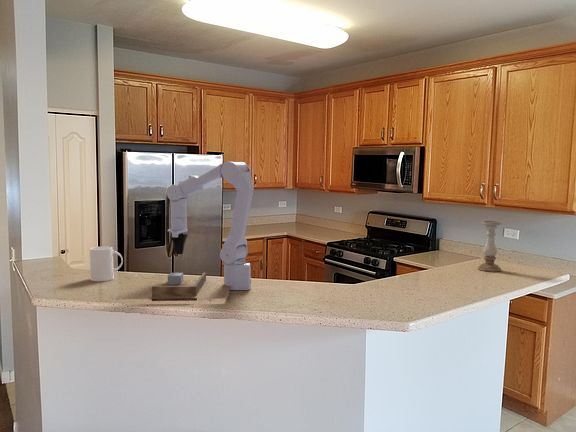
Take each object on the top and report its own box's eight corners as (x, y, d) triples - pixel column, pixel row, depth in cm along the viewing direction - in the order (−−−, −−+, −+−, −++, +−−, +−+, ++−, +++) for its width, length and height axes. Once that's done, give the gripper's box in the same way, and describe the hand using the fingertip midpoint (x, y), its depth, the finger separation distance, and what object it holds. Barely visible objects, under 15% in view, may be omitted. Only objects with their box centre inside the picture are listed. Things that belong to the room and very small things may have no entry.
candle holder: (504, 272, 184) (507, 222, 183) (483, 272, 185) (485, 222, 183) (495, 267, 193) (497, 220, 191) (474, 267, 193) (476, 220, 191)
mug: (125, 275, 178) (124, 245, 177) (120, 280, 169) (119, 249, 168) (93, 276, 176) (92, 246, 175) (87, 282, 167) (86, 250, 166)
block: (183, 281, 163) (183, 272, 162) (180, 284, 158) (180, 275, 158) (170, 281, 162) (170, 272, 162) (167, 284, 158) (167, 275, 158)
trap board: (206, 284, 164) (205, 272, 163) (196, 300, 143) (195, 286, 143) (167, 284, 163) (167, 272, 163) (152, 300, 143) (151, 286, 142)
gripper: (172, 215, 173) (173, 250, 174) (162, 219, 158) (163, 257, 160) (190, 215, 173) (191, 250, 174) (183, 219, 158) (183, 257, 160)
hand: (179, 254), depth 167 cm, fingers closed
